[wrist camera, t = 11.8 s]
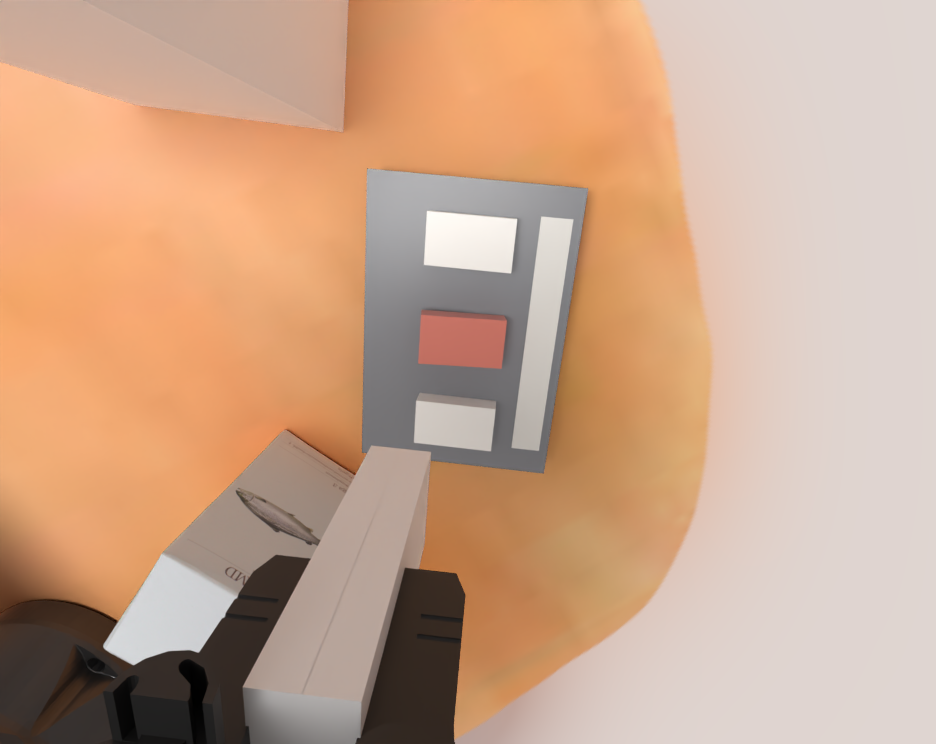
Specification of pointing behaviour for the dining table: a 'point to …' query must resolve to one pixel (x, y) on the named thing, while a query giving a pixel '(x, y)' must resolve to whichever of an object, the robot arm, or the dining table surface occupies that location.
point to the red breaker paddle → (461, 339)
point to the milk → (191, 54)
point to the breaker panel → (467, 291)
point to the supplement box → (231, 548)
